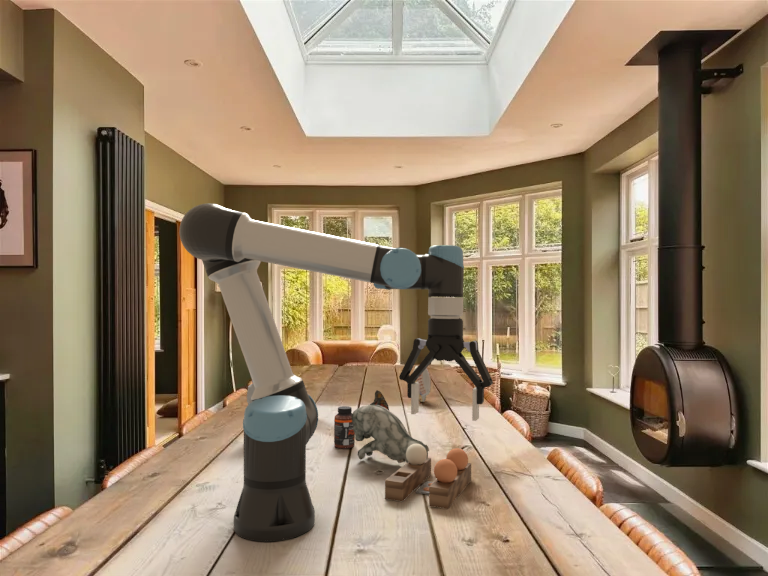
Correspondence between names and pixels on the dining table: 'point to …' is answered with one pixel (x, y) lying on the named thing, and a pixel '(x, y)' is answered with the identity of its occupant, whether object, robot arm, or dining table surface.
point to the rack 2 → (449, 489)
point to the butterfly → (380, 400)
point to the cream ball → (416, 454)
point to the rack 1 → (406, 480)
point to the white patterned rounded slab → (424, 384)
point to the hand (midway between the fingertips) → (444, 416)
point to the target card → (424, 488)
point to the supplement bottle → (344, 428)
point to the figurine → (382, 433)
